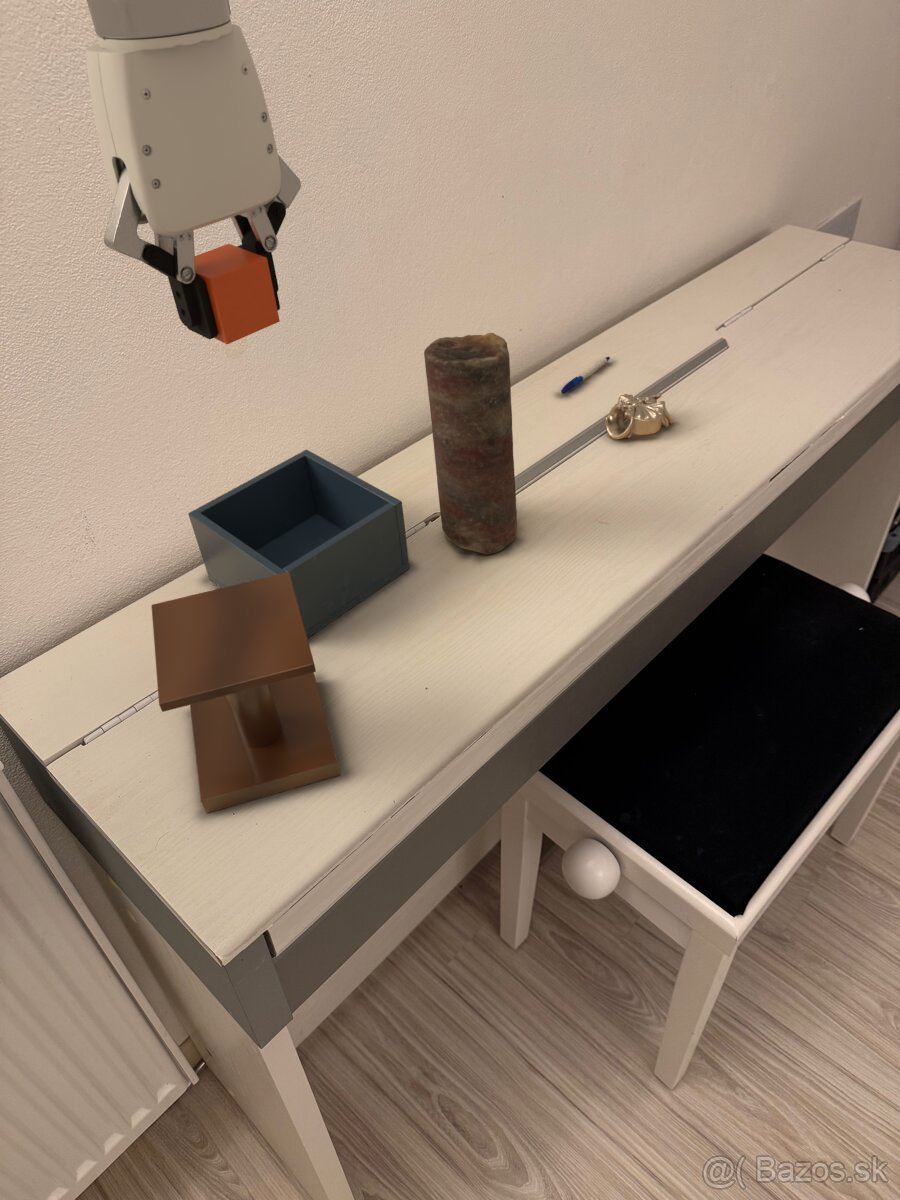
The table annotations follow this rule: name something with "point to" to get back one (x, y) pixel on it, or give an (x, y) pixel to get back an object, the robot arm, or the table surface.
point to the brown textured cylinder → (473, 439)
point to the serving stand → (244, 689)
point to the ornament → (637, 416)
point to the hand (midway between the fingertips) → (233, 316)
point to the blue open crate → (305, 536)
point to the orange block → (238, 291)
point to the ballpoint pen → (583, 376)
